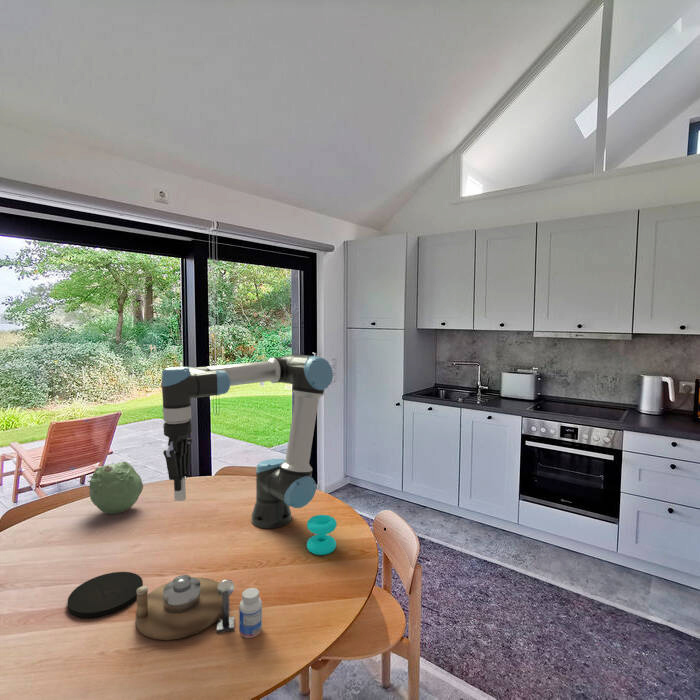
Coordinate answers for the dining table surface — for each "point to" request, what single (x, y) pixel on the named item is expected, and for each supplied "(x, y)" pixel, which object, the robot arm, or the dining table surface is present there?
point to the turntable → (181, 625)
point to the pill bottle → (250, 613)
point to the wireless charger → (104, 595)
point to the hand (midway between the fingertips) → (180, 499)
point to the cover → (181, 594)
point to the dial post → (225, 606)
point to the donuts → (321, 534)
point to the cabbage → (115, 487)
